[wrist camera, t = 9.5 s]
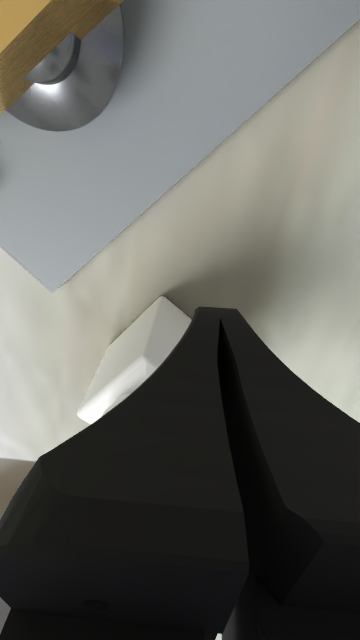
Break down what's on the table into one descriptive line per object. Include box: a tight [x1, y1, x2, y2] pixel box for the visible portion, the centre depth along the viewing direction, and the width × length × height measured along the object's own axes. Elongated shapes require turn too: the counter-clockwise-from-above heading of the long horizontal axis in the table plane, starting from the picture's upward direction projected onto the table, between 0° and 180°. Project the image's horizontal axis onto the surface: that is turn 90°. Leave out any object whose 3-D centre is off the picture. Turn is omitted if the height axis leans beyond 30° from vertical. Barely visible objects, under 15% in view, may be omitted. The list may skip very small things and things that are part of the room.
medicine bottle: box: [77, 296, 192, 424], centre depth 18 cm, size 7×7×12 cm
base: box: [0, 0, 360, 293], centre depth 13 cm, size 22×16×2 cm
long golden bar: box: [0, 0, 125, 132], centre depth 10 cm, size 7×13×4 cm, turn 120°
